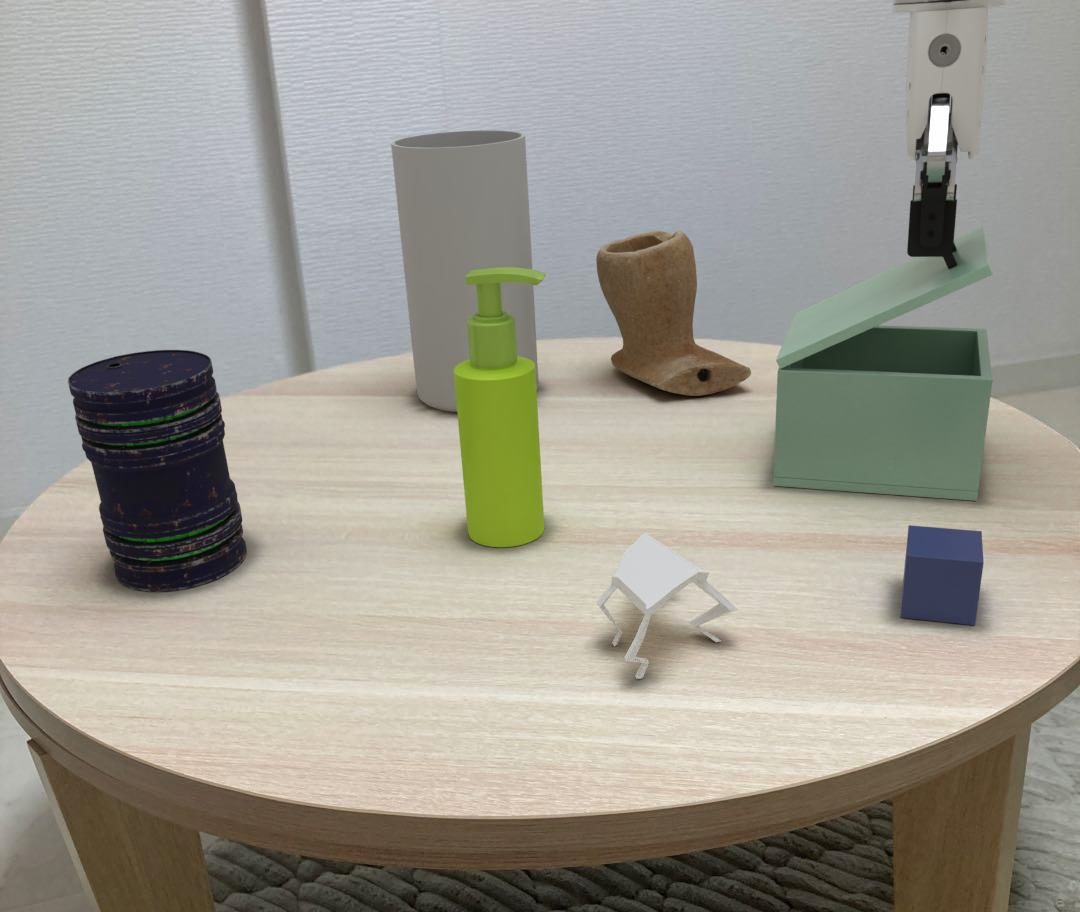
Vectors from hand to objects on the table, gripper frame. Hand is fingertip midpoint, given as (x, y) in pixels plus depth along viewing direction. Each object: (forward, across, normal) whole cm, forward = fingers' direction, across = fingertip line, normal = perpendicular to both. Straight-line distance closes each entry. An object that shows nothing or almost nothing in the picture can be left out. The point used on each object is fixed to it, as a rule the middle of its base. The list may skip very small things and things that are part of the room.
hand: (930, 244), depth 87 cm
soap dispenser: (+18, -19, +29) cm, 39 cm away
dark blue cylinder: (+17, -29, +52) cm, 62 cm away
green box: (+18, 0, +3) cm, 18 cm away
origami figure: (+18, -31, +15) cm, 39 cm away
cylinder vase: (+17, +11, +43) cm, 48 cm away
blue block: (+18, -24, -2) cm, 30 cm away
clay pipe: (+18, +18, +25) cm, 36 cm away
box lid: (+4, 0, +3) cm, 5 cm away
